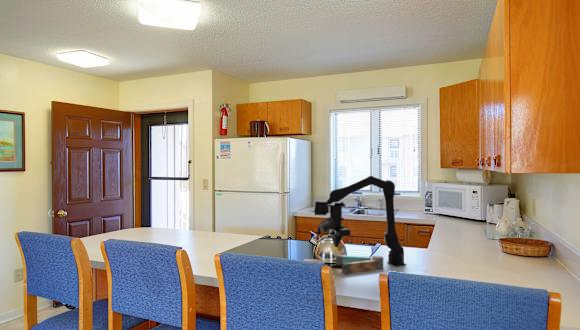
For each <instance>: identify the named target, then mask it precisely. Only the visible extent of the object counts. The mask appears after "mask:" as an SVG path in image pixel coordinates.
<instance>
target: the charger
mask: <svg viewBox="0 0 580 330" xmlns="http://www.w3.org/2000/svg"><path fill="white" fill-rule="evenodd" d="M303 261H308V262H316V263H324V264H325V261H324V260H323V259H312V258H306V259H303Z"/></svg>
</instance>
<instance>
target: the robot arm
mask: <svg viewBox="0 0 580 330" xmlns="http://www.w3.org/2000/svg"><path fill="white" fill-rule="evenodd" d="M371 185H372V186H374V187H377V188H380V189H382V193H383V197H384V201H385V214H386V216H385V217H386V218H385V219H386V232H385V231H383V235H384V238H383V242H384V243H385V244H386V246H387V248H388V249H390V250H389V251H388V261H387V262H386V264H388V265H391V266H393V267H400V266H406V265H407V263H405V257H404V256H405V250H404V247H403V244H401V243H400V241H399V238H398V234H397V230H396V221H395V220H396V219H395V204H394V198H395V191H396V190H395V189H396V185H395V183H394V182H393V181H392V180H388V179H387V180H386V179H385V180H383V179H379V178H378V177H374V175H373V176H372V175H369V176H367V177H366V178H363V179H361V180H359V181H357V182H354V183H352V184H350V185H348V186H344V187H340V188H336V189H332V191H331V192H330V194H329V198H328V199H326V201H318V200H317V201H315V203H314V204H315V205H314V215H315V216H327V214H329V217H328V218H327V220H326V221H324V222H322V223H320V224H318V227H319V230H320V232H323V233H327V234H328V235H329V236H330V237H331V239H332V243H333V246H334V245H335V246H334V248H335V247H337V248H338V247H339V245H340V243H341V241H342V239H343V237H349V236H352V230H350V229H349V228H345V227H344V225H343V221H344V220H345V219H344V218H345V217H343V207H344V208H345V207H346V203H344V201H342V200H343V199H344V198H346V197H347V196H348V195H350V194H353V193H356V192H358V191H360V190H361V189H364V188H366V187H368V186H371ZM340 201H341V202H340ZM333 203H334V204H333Z"/></svg>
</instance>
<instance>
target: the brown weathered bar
mask: <svg viewBox="0 0 580 330" xmlns="http://www.w3.org/2000/svg"><path fill="white" fill-rule="evenodd" d="M335 257H336V258H335V259H336V260H335V265H336V264H337V266H342V263H346V262H348V263H349V262H357V261H366V260H372V256H362V255H348V254H347V255H345V254H344V255H343V254H336V256H335Z"/></svg>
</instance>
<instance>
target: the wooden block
mask: <svg viewBox="0 0 580 330" xmlns="http://www.w3.org/2000/svg"><path fill="white" fill-rule="evenodd" d="M383 269H384V257H383V256H380V255H373V256H371V260H366V261H357V262H349V263H348V262H346V263H342V265H341V274H342V275H345V276H347V275H352V274H361V273H368V272H375V271H379V270H383Z"/></svg>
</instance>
